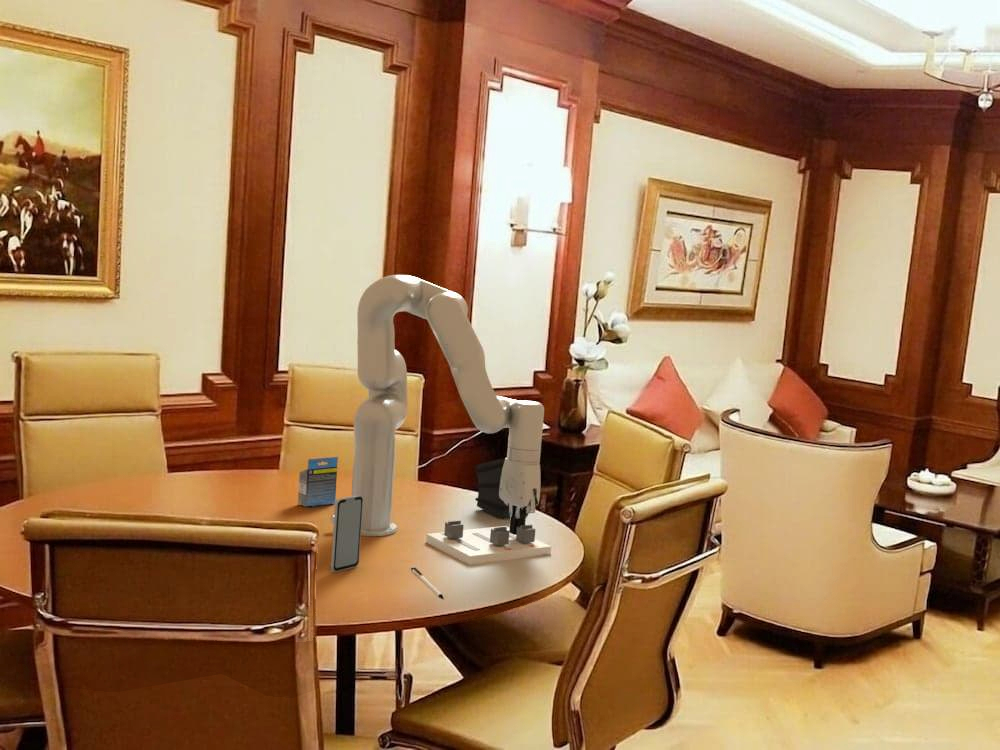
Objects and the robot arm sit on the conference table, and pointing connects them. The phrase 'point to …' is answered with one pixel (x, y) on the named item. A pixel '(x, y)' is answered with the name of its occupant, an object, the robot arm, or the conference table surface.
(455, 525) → the tab left
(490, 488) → the black upright block
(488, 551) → the switch panel
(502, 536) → the tab middle
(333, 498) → the label tape cartridge
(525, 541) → the tab right
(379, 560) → the conference table surface
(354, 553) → the smartphone
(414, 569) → the pen
